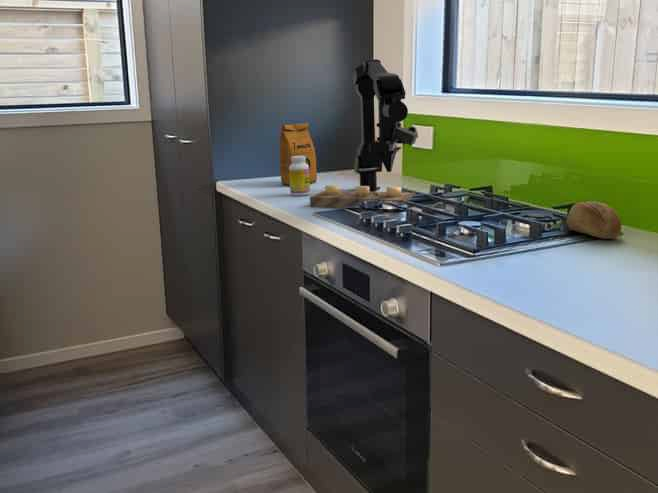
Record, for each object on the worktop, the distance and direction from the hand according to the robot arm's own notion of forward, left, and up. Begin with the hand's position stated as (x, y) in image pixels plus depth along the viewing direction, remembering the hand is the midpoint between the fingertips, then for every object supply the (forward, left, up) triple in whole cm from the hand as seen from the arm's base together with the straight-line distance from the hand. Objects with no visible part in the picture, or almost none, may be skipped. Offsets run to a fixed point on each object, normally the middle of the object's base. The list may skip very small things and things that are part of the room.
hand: (389, 171), depth 207 cm
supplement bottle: (-10, -35, -10) cm, 38 cm away
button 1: (+2, -18, -10) cm, 21 cm away
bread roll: (+26, +59, -10) cm, 65 cm away
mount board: (+2, -8, -10) cm, 13 cm away
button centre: (+2, -8, -10) cm, 13 cm away
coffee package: (-30, -45, -10) cm, 55 cm away
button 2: (+2, +2, -10) cm, 10 cm away
